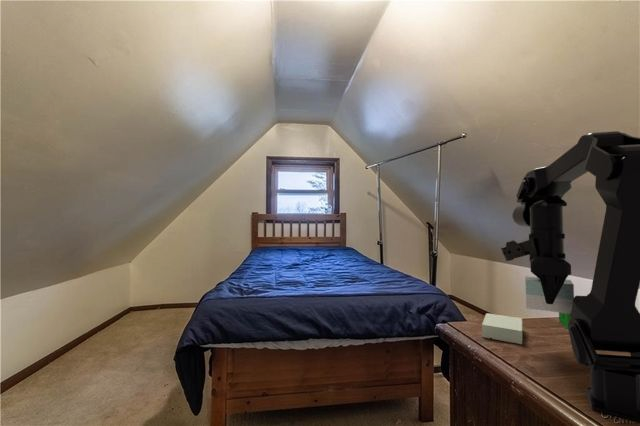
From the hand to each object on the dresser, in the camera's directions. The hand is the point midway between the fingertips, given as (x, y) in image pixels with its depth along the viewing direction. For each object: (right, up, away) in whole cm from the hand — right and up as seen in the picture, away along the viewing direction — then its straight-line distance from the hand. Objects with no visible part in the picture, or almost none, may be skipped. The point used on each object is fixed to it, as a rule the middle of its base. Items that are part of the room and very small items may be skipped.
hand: (548, 300), depth 65 cm
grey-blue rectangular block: (0, -2, 0) cm, 2 cm away
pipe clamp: (+17, -11, +11) cm, 23 cm away
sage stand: (-4, -11, +10) cm, 15 cm away
